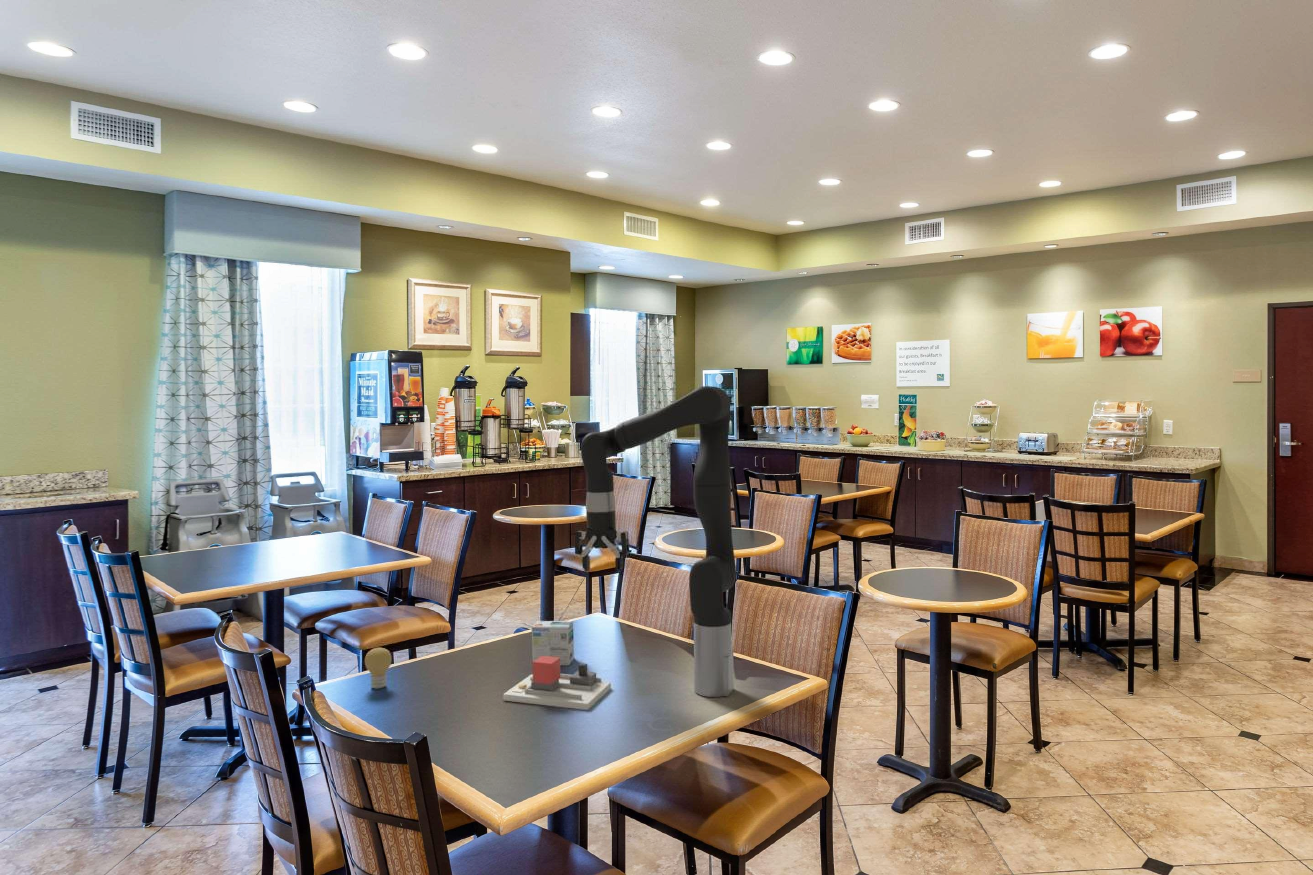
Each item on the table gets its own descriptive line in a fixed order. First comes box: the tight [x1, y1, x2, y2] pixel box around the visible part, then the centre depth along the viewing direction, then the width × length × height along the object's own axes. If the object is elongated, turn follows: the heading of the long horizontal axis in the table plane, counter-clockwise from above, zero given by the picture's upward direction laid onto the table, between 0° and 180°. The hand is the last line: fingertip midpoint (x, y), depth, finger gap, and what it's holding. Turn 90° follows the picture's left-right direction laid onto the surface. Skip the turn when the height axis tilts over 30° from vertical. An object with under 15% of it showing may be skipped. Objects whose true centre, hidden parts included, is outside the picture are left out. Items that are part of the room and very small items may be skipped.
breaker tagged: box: [531, 679, 559, 692], centre depth 197 cm, size 5×5×5 cm
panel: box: [502, 662, 612, 711], centre depth 198 cm, size 22×15×7 cm
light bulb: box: [364, 647, 393, 690], centre depth 204 cm, size 6×6×10 cm
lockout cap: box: [532, 656, 561, 684], centre depth 196 cm, size 5×5×5 cm
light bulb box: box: [531, 620, 575, 666], centre depth 223 cm, size 11×7×11 cm, turn 84°
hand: (602, 571), depth 209 cm, fingers open, 8 cm apart
